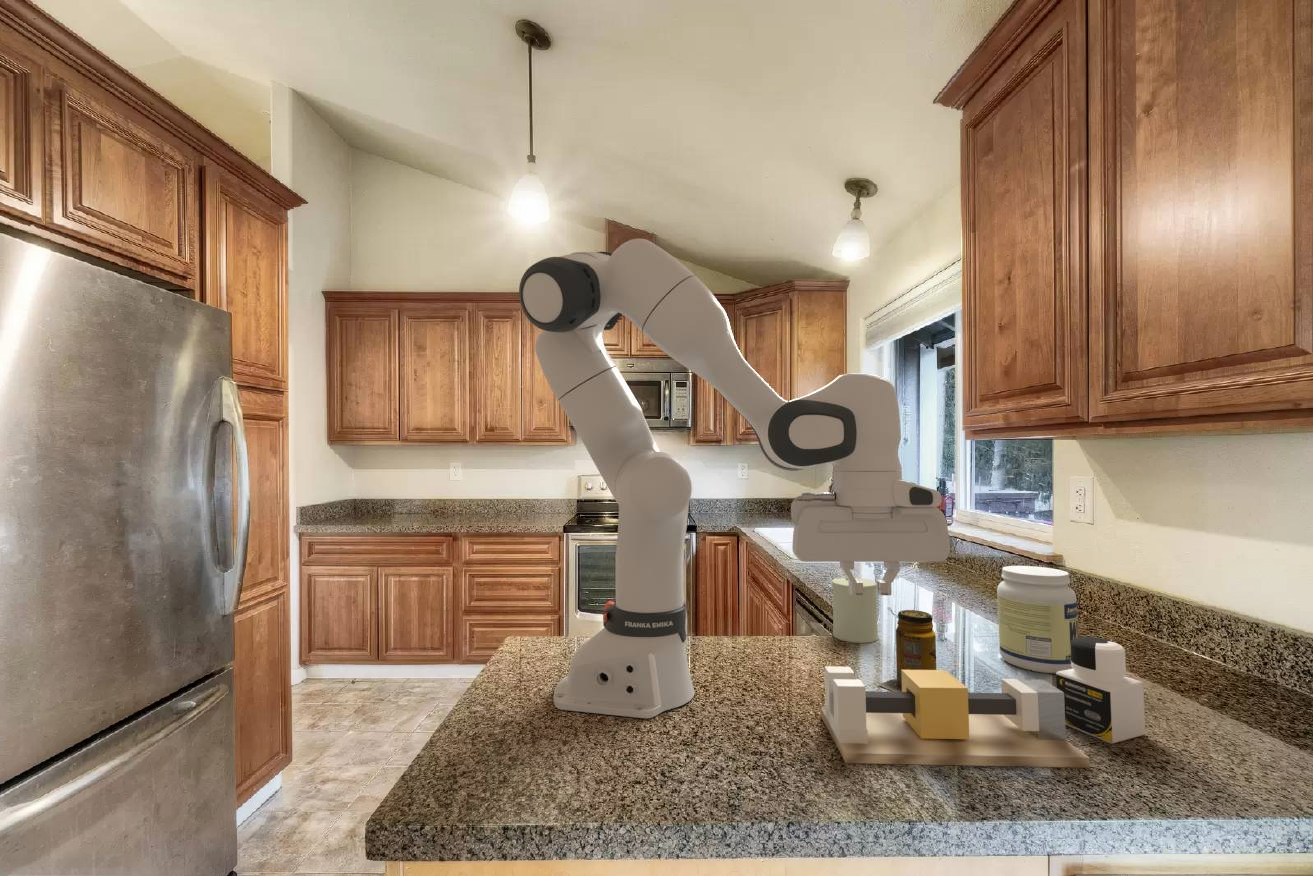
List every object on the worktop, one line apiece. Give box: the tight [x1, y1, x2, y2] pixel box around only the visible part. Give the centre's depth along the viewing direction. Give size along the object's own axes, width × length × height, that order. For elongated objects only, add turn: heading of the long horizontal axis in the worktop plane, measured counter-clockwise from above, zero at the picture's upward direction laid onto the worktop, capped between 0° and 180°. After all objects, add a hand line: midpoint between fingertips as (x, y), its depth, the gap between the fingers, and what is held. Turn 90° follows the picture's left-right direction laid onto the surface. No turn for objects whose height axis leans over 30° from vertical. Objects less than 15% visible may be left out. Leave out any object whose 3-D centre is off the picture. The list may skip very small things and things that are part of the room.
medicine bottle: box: [1055, 636, 1146, 745], centre depth 79 cm, size 7×7×12 cm
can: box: [831, 577, 880, 644], centre depth 122 cm, size 9×9×12 cm
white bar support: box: [824, 665, 868, 744], centre depth 77 cm, size 4×8×7 cm, turn 177°
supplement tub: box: [996, 565, 1079, 674], centre depth 105 cm, size 12×12×17 cm
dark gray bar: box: [833, 690, 1016, 715], centre depth 77 cm, size 26×2×2 cm, turn 87°
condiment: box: [877, 609, 937, 692], centre depth 94 cm, size 7×8×12 cm
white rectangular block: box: [1000, 678, 1039, 731], centre depth 76 cm, size 2×5×5 cm, turn 177°
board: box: [820, 707, 1091, 769], centre depth 76 cm, size 29×13×1 cm, turn 87°
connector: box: [1016, 678, 1067, 741], centre depth 76 cm, size 3×4×6 cm
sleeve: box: [901, 669, 969, 739], centre depth 77 cm, size 6×6×6 cm
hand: (869, 594), depth 78 cm, fingers open, 2 cm apart
